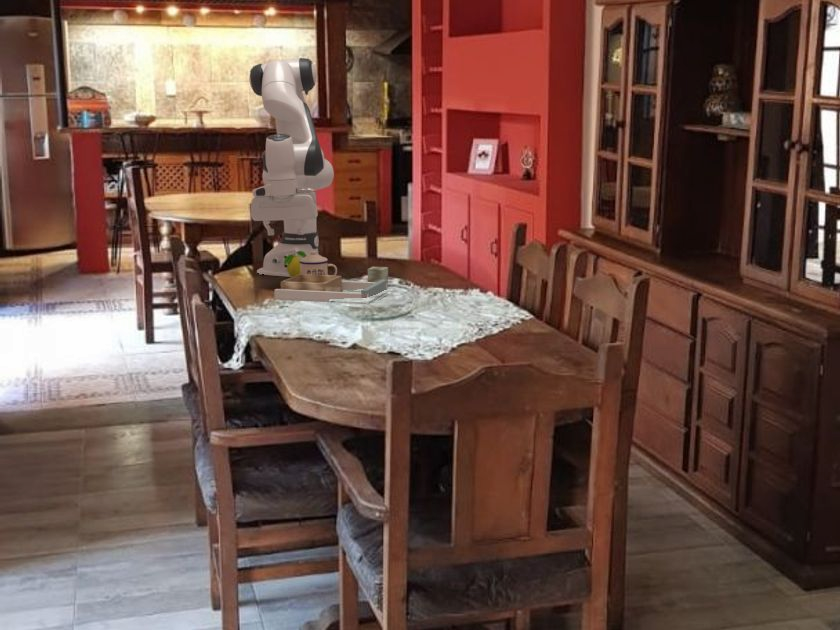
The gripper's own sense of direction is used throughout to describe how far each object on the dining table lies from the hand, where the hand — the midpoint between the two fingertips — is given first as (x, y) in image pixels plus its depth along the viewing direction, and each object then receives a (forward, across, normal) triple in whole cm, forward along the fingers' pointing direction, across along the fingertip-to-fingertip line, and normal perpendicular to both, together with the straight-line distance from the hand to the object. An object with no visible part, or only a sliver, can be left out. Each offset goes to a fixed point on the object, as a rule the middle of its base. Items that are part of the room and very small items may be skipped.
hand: (285, 235), depth 326 cm
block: (+20, -24, -15) cm, 34 cm away
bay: (+19, -14, +2) cm, 24 cm away
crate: (+18, -8, +2) cm, 20 cm away
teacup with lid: (+19, -4, -16) cm, 26 cm away
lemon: (+19, +8, -30) cm, 37 cm away
